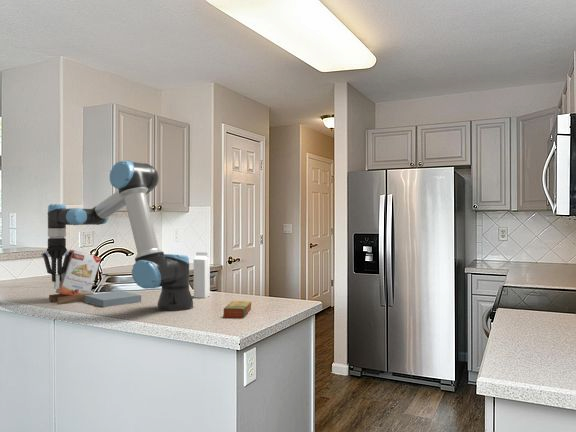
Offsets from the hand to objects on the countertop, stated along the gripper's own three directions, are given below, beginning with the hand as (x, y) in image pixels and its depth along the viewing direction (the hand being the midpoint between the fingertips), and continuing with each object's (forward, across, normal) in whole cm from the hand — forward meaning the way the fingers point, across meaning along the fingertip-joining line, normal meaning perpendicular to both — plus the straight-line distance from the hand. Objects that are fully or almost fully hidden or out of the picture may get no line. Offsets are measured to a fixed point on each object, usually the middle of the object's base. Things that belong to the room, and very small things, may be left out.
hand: (56, 288), depth 216 cm
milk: (+6, -54, +37) cm, 66 cm away
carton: (+7, -40, +81) cm, 91 cm away
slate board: (+6, -19, +17) cm, 26 cm away
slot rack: (+6, -7, 0) cm, 9 cm away
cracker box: (+5, -7, 0) cm, 8 cm away
